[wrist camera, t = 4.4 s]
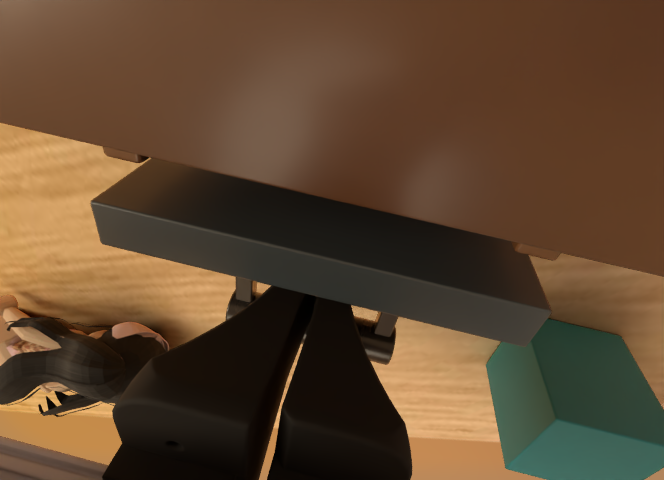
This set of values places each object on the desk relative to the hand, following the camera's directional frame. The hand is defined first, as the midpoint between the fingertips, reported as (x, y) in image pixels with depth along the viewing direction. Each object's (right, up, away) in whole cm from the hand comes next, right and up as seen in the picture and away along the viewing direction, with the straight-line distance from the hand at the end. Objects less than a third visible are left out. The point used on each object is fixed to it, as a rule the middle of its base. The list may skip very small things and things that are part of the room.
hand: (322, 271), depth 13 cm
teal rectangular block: (+11, -4, +4) cm, 12 cm away
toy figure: (-16, -4, +11) cm, 20 cm away
